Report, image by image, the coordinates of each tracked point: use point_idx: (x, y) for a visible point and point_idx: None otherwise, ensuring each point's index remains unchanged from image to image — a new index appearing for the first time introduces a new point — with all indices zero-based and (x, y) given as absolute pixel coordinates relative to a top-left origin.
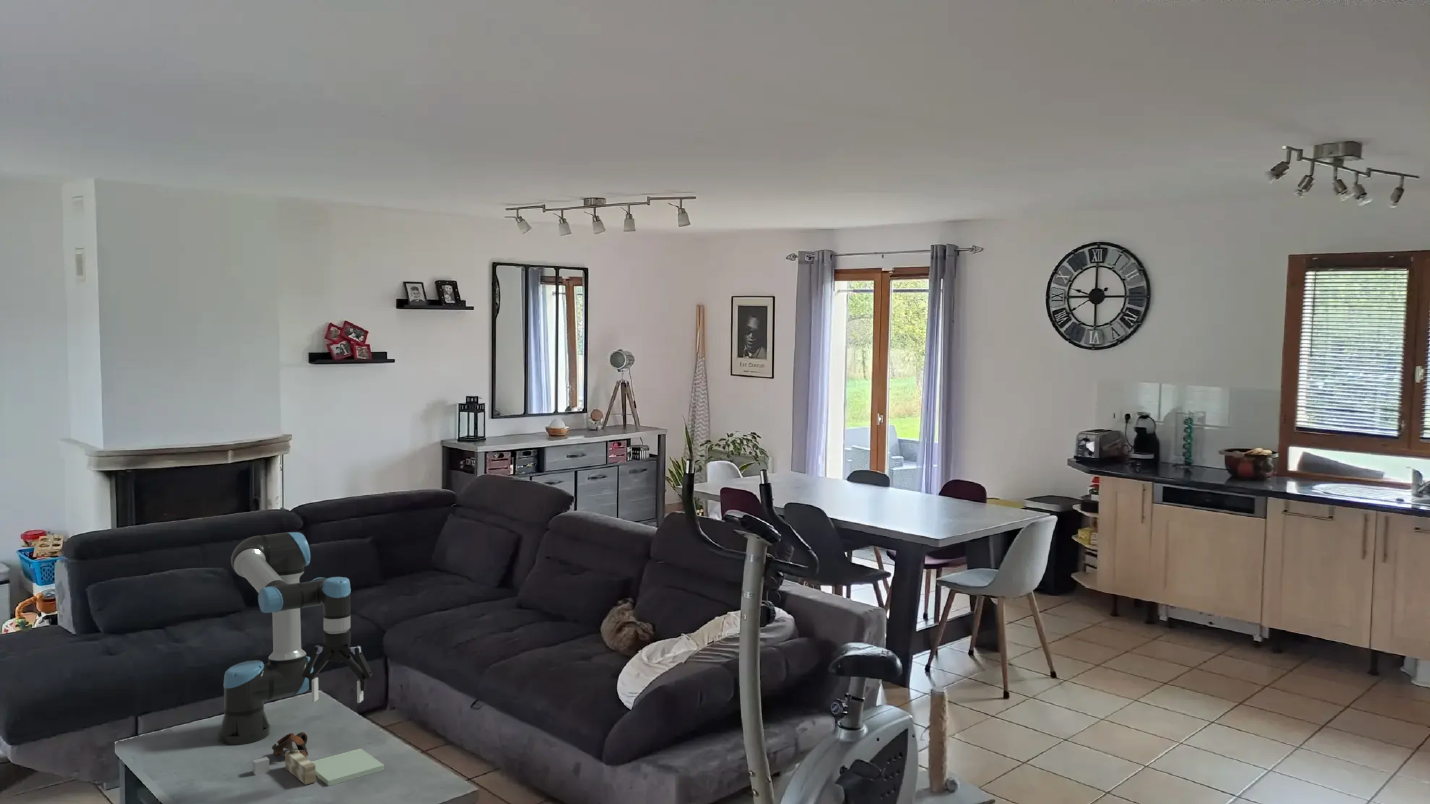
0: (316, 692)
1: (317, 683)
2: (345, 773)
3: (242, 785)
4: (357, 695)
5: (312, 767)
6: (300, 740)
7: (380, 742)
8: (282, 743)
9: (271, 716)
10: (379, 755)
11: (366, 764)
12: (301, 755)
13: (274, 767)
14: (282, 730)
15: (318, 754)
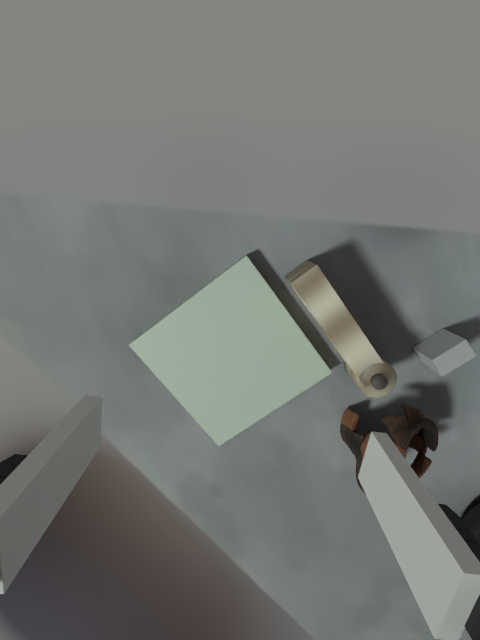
0: (385, 495)
1: (410, 570)
2: (214, 300)
3: (465, 275)
4: (75, 424)
5: (297, 277)
6: None
7: (190, 491)
8: (417, 427)
9: None
10: (171, 423)
11: (175, 351)
12: (347, 356)
13: (405, 375)
14: None
15: (317, 439)
